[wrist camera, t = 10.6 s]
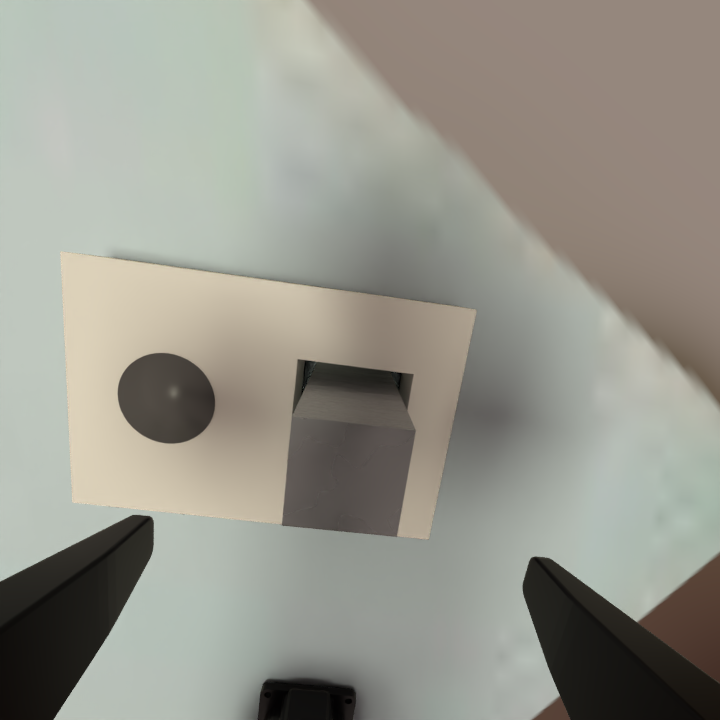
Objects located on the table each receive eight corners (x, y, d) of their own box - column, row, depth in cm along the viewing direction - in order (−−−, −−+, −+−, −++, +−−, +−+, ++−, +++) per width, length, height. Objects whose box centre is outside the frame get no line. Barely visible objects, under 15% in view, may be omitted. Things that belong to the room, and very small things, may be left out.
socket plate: (417, 503, 20) (428, 540, 17) (114, 470, 20) (71, 503, 16) (456, 306, 18) (477, 310, 15) (110, 257, 17) (59, 251, 14)
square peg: (378, 436, 19) (396, 536, 12) (310, 428, 19) (281, 525, 11) (389, 370, 19) (416, 430, 11) (317, 361, 18) (291, 416, 11)
